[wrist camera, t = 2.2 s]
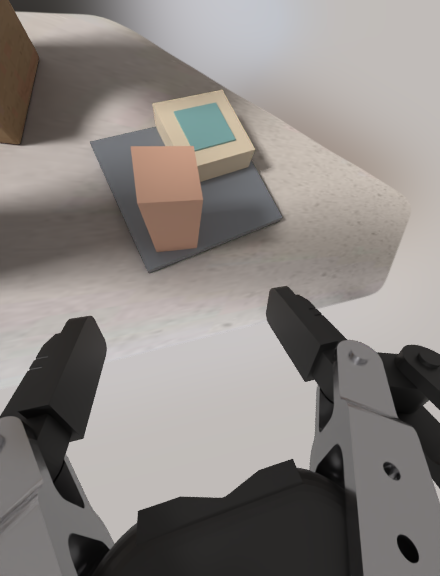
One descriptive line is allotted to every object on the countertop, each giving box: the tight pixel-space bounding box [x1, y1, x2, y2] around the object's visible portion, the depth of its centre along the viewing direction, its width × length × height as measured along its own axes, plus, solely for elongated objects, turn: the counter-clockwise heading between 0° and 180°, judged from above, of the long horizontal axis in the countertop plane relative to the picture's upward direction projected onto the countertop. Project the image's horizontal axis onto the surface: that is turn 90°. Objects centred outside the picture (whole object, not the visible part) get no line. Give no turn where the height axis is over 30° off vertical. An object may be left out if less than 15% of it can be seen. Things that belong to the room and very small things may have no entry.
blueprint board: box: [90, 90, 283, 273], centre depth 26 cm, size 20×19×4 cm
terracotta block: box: [131, 146, 203, 252], centre depth 21 cm, size 5×5×10 cm
